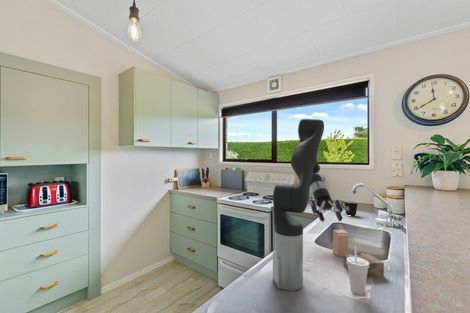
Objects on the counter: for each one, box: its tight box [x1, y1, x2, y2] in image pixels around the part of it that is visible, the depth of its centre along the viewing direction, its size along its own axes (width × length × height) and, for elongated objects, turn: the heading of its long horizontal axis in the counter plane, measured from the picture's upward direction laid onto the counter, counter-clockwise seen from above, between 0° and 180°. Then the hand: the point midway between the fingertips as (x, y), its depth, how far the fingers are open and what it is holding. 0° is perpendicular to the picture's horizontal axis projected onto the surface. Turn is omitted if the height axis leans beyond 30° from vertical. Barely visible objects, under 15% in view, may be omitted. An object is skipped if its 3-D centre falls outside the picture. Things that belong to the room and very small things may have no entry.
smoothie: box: [346, 246, 369, 295], centre depth 70 cm, size 6×6×14 cm
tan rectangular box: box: [332, 229, 350, 257], centre depth 96 cm, size 5×4×10 cm
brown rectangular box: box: [343, 252, 385, 278], centre depth 82 cm, size 10×8×5 cm
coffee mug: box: [340, 200, 359, 217], centre depth 163 cm, size 12×9×10 cm
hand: (332, 220), depth 103 cm, fingers open, 8 cm apart
